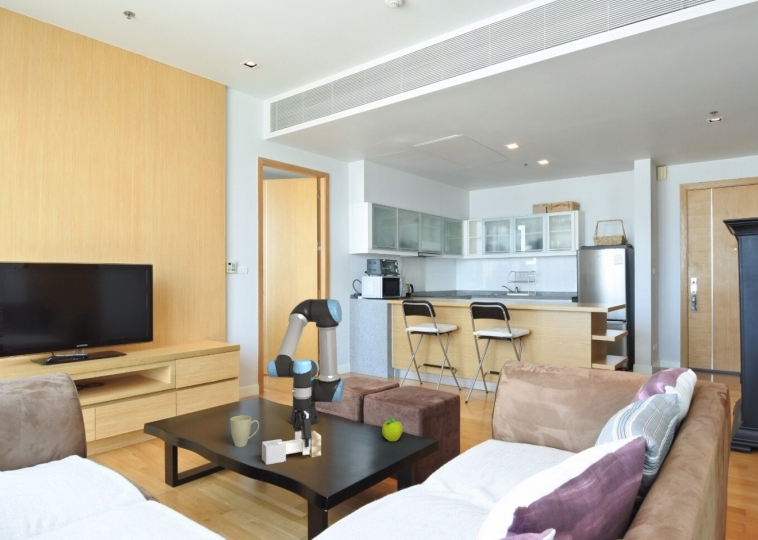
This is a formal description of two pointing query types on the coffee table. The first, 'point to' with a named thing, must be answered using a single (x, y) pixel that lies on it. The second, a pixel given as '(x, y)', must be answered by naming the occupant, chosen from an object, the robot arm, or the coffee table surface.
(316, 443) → the beige block
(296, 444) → the blue-banded white bar
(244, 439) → the mug
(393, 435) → the fruit
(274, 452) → the sleeve
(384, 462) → the coffee table surface
